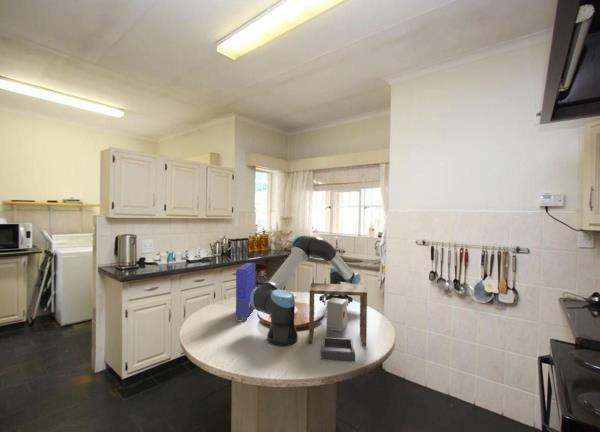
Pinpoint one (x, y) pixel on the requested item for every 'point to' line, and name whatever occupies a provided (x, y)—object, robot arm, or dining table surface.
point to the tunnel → (340, 290)
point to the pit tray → (338, 349)
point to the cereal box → (244, 290)
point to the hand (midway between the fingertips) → (336, 303)
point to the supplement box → (336, 314)
